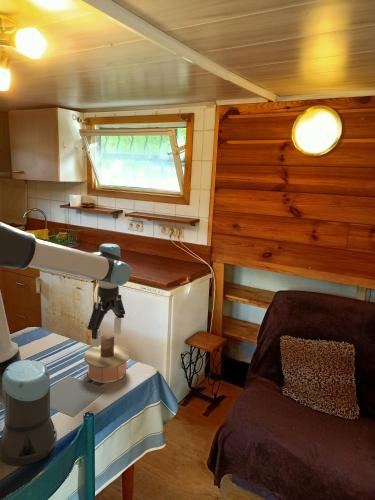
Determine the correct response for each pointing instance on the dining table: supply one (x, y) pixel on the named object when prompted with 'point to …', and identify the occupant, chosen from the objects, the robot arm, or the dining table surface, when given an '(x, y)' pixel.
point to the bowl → (106, 373)
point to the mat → (73, 395)
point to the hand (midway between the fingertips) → (106, 339)
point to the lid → (106, 354)
